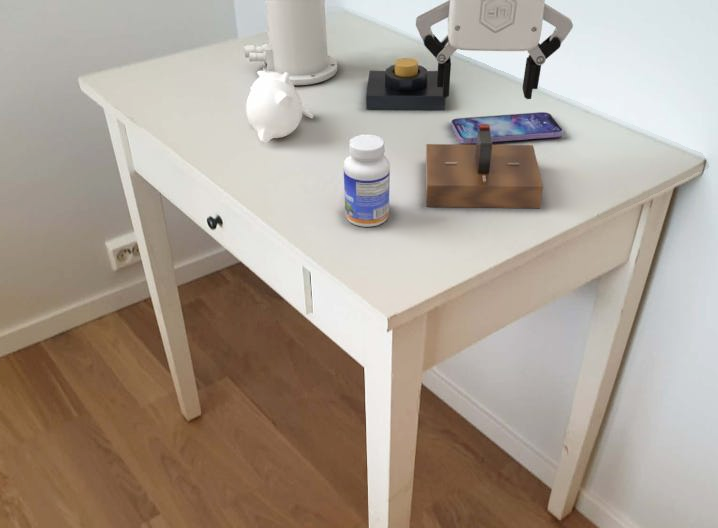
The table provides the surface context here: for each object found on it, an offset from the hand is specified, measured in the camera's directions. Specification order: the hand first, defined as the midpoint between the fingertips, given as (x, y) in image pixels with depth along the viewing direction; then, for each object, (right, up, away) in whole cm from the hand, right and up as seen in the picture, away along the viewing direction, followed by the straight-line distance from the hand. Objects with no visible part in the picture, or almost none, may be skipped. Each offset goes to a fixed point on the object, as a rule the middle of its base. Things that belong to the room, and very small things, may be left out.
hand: (485, 93), depth 86 cm
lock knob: (0, -7, +6) cm, 9 cm away
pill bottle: (-14, -14, +3) cm, 20 cm away
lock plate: (0, -9, +8) cm, 12 cm away
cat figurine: (-27, +2, +21) cm, 34 cm away
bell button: (-8, +13, +26) cm, 30 cm away
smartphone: (+6, +1, +19) cm, 20 cm away
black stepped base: (-8, +10, +29) cm, 31 cm away
